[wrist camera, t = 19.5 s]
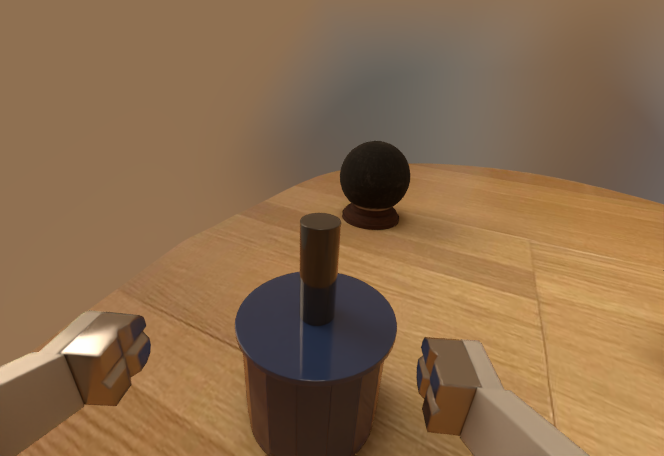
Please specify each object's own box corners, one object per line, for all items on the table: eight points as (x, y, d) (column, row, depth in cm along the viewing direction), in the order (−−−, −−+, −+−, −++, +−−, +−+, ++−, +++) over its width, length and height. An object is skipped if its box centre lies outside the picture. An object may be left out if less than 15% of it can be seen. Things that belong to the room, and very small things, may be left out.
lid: (199, 356, 21) (179, 239, 18) (284, 269, 31) (283, 182, 28) (372, 423, 18) (392, 295, 14) (407, 301, 28) (424, 206, 24)
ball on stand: (414, 217, 67) (427, 142, 61) (382, 239, 58) (393, 153, 51) (361, 200, 74) (367, 132, 68) (324, 217, 65) (327, 140, 58)
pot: (222, 437, 26) (208, 346, 22) (287, 343, 35) (286, 267, 31) (352, 498, 22) (365, 404, 18) (386, 377, 31) (399, 296, 27)
